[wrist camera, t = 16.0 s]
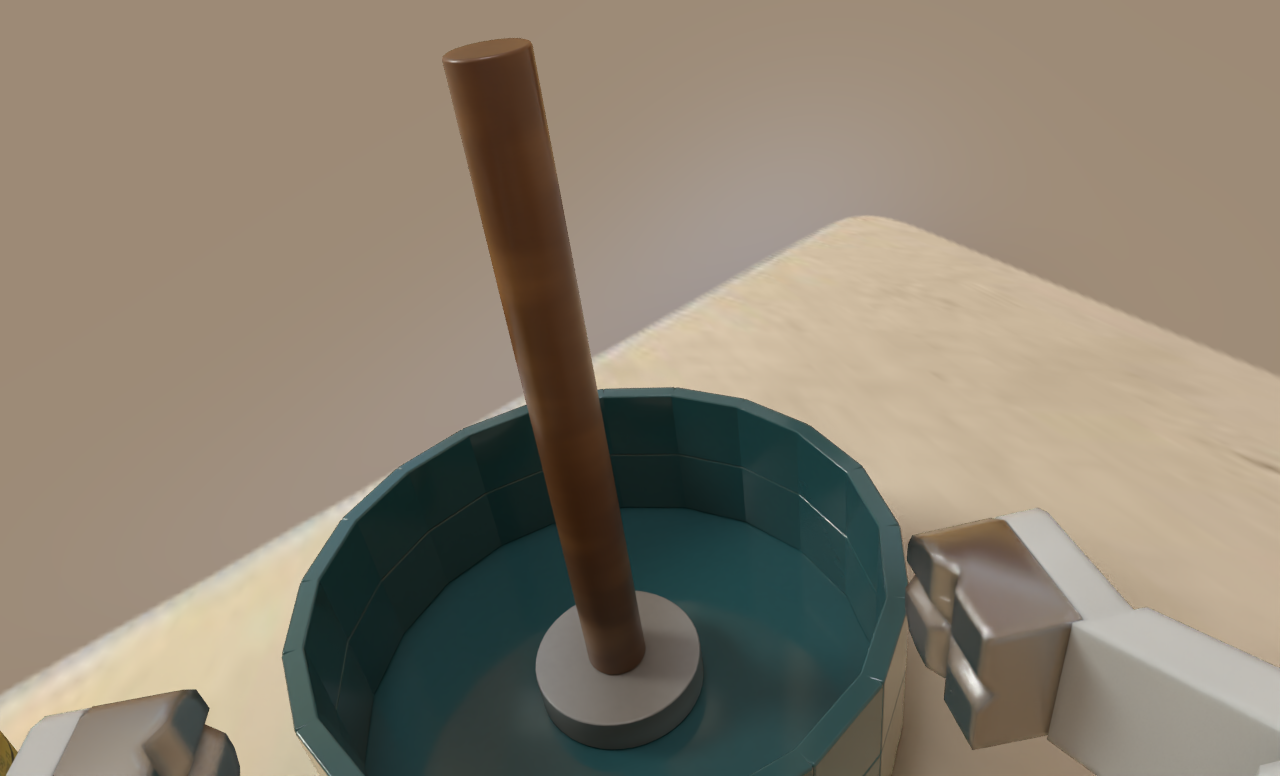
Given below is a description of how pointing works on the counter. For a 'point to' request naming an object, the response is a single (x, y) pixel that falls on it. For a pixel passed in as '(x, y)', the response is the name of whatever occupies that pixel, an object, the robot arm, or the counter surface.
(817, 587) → the bowl
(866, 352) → the counter surface
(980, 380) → the counter surface
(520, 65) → the wooden dowel stand
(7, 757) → the sauce bottle
